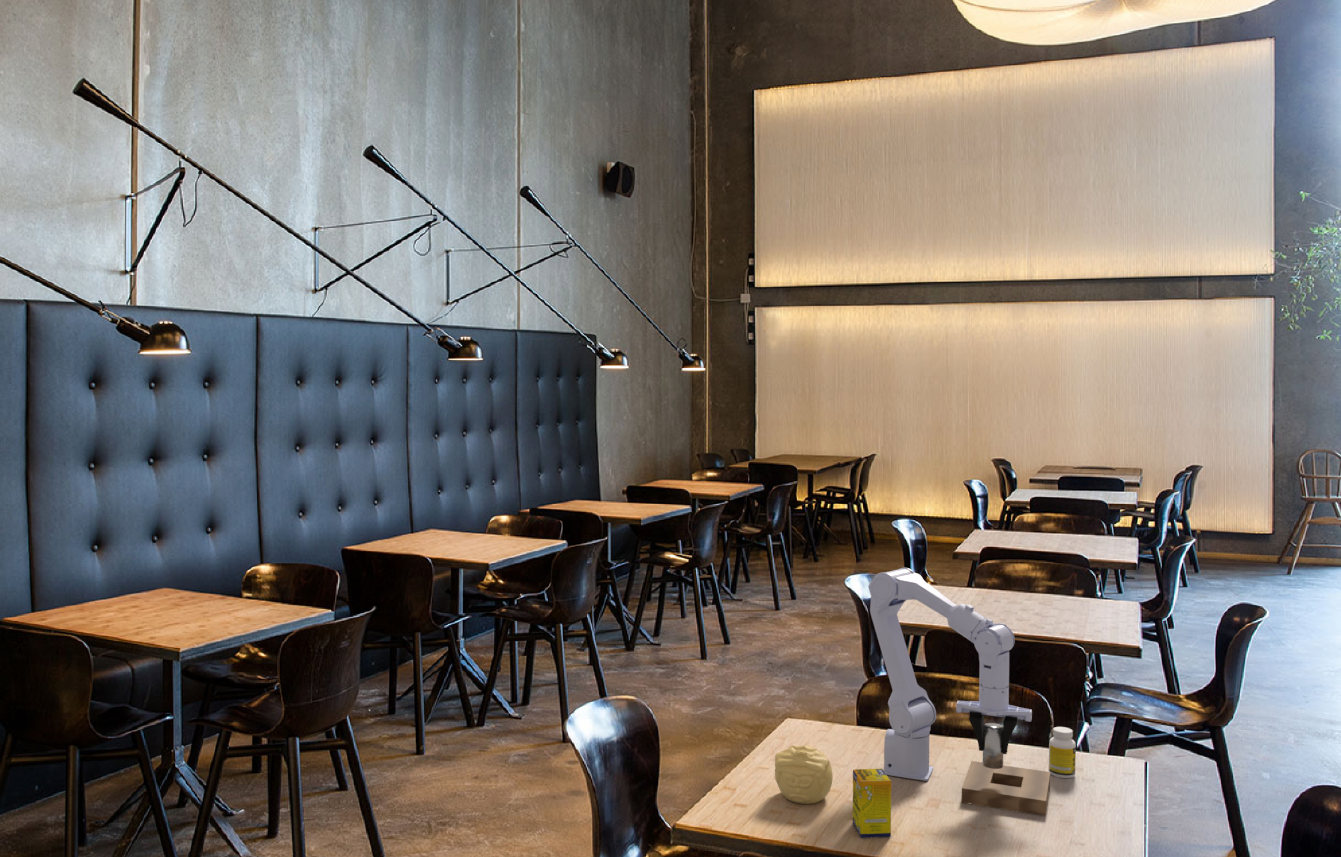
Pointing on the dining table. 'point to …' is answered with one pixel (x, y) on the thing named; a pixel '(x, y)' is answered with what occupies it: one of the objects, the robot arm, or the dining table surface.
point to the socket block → (1007, 788)
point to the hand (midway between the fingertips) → (993, 750)
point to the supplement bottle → (1062, 753)
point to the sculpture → (803, 774)
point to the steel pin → (993, 745)
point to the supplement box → (871, 803)
